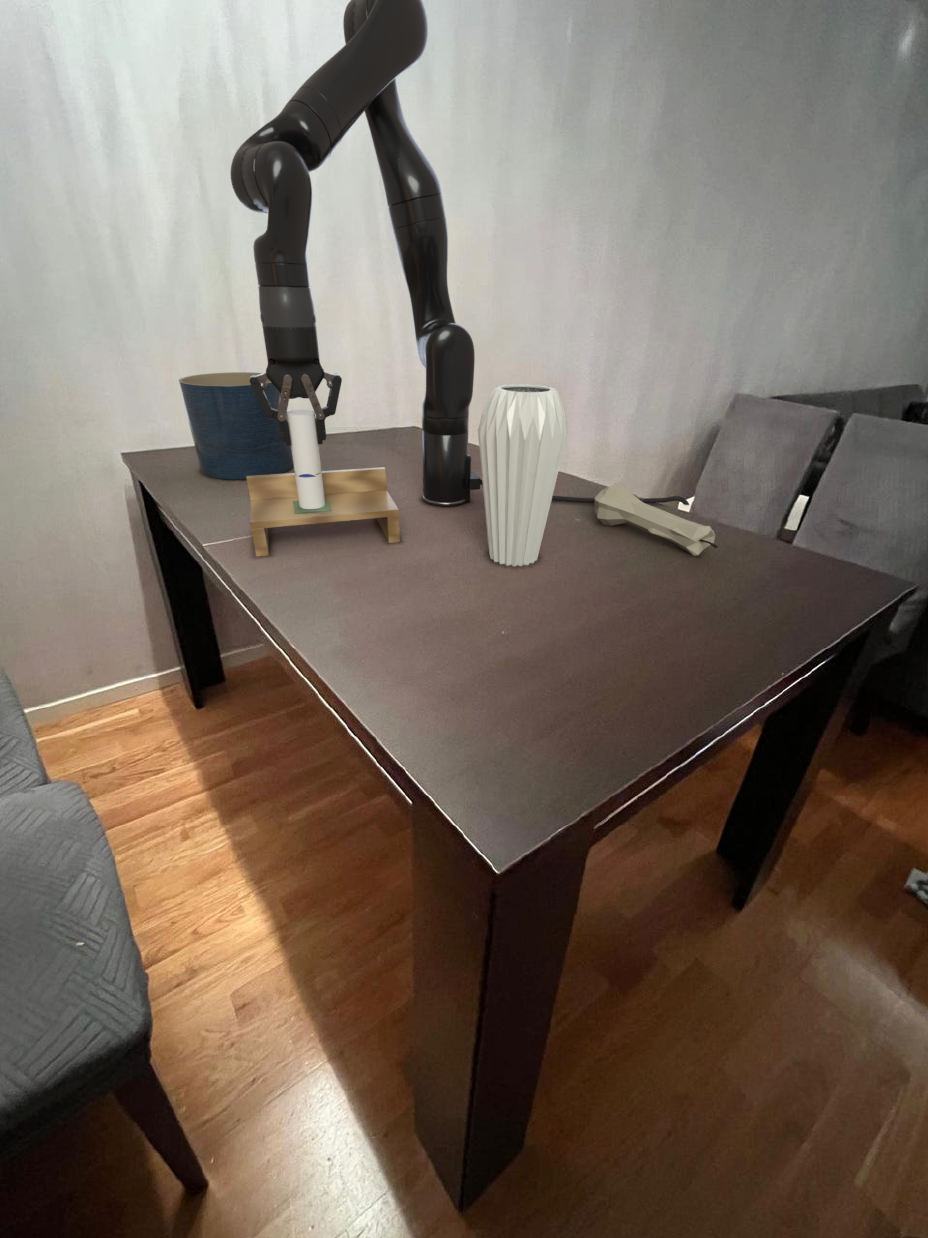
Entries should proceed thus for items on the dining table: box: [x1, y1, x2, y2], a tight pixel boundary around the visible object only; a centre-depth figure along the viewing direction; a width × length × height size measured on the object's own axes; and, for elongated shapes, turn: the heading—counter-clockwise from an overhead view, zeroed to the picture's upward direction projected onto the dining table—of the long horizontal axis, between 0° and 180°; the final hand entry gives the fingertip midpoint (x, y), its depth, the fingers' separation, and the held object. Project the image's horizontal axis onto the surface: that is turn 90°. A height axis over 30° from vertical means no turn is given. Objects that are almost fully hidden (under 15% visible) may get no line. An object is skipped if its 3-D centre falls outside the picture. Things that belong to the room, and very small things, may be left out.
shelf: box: [246, 466, 401, 558], centre depth 95 cm, size 24×12×10 cm, turn 108°
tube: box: [287, 409, 325, 509], centre depth 89 cm, size 4×4×15 cm
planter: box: [178, 371, 294, 481], centre depth 129 cm, size 22×22×20 cm
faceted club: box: [594, 480, 719, 557], centre depth 98 cm, size 9×8×25 cm
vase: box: [477, 383, 568, 568], centre depth 85 cm, size 13×13×26 cm
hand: (304, 443), depth 88 cm, fingers closed on tube, 4 cm apart
